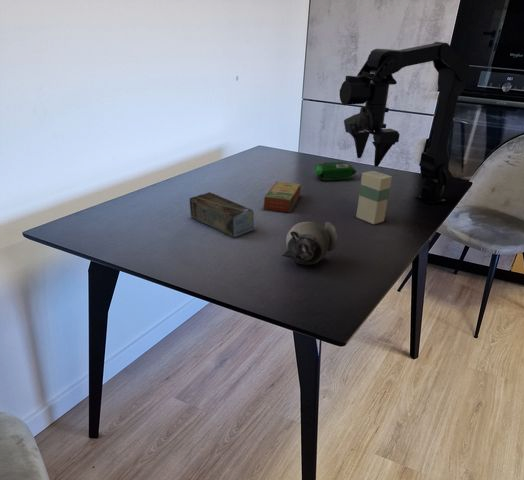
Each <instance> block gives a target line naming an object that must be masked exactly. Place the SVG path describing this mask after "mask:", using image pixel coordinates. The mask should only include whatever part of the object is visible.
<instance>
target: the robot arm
mask: <svg viewBox="0 0 524 480" xmlns="http://www.w3.org/2000/svg"><path fill="white" fill-rule="evenodd" d="M430 62H432V65H433V68H434V69H435V70H436V72H437V87H438V90H439V95H440V96H439V100H438V106H437V111H436V117H435V120H434V126H433V131H432V135H431V136H432V137H431V140H430V146H429V148H427V150H426V151H425V152H424V151H423V152H421V155H420V161H419V164H418V166H419V170H420V172H421V178H422V179H425V180H424V183H423V186H422V189H421V193H420V195H418V196H417V198H418V199H419V200H421V201H423V202H425V203H427V204H429V205H432V204H440V203H446V202H447V201H446V199H444V196H445V195H444V194H445V191H446V188H447V187H446V186H449V185H451V184H452V182H453V180H454V176H453V174H452V173H451V171H450V169H449V168H450V156H449V150H448V144H449V140H450V136H451V130H452V126H453V121H454V117H455V112H456V108H457V104H458V99H459V96H460V95H461V94H462V92H463V91H464V89H466V86H467V85H468V81H469V78H470V76H471V71H472V68H471V66H470V64H469V62H468V61H465V60H464V59H463V57H461V55H460V54H458V53H457V52H456V51H455V50H454V49H453V48H452V46H451V45H450V44H449V43H448V42H442V41H435V42H433V43H429V44H423V45H417V46H413V47H408V48H401V49H390V48H375V49H372V50H371V51H370V53H369V54H368V57H367V59H366V61H365V63H364V64H363V66H362V67H361V68H360V69H359V71H358V72H357V75H346V76H345V79H344V81H343V82H342V83H341V86H340V88H339V100H340V103H341V104H342V105H344V106H349V105H350V106H352V105H361V107H360V110H359V112H358V113H356V114H353V115H351V116H349V117H347V118H345V119H343V125H344V129H345V130H344V131H345V133H348V134H350V136H351V137H352V138H353V142H354V145H355V152H356V157H357V159H361V158H362V157H363V154H364V152H365V149H366V146H367V144H368V140H369V138H370V135H372V139H373V141H371V143H372V145H373V146H374V160H373V161H374V162H373V165H374V167H376V168H377V167H379V165H380V164H381V162H382V161H383V159H384V158H385V157H386V155H387V154H388V152H389V150H390V149H391V148H392V147H393V146H395V145H396V143H399V141H400V136H401V135H400V133H399V131H398V130H396V129H393V128H387V123H384V122H385V116H386V113H389V111H390V108H389V107H387V103H388V97H389V89H390V86H392V85H393V86H395V85H397V80H396V79H395V78H394V76H393V75H394V74H396V73H398V72H400V71H401V70H402V69H403V68H405V67H410V66H416V65H419V64H424V63H430Z"/></svg>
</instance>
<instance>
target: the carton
mask: <svg viewBox="0 0 524 480" xmlns="http://www.w3.org/2000/svg"><path fill="white" fill-rule="evenodd" d="M301 187H302V185H301V184H300V183H294V182H288V181H287V182H286V181H276V182H274V184H273V186H271V188H269V191H268V192H266V194H265V195H264V199H263V210H265V211H272V212H280V213H291V212H292V210H293V208H294V207H295V205H296V203H297V201H298V199H299V198H300V197H301Z"/></svg>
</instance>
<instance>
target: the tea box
mask: <svg viewBox="0 0 524 480" xmlns="http://www.w3.org/2000/svg"><path fill="white" fill-rule="evenodd" d="M392 180H393V176H392V175H389V174H385V173H382V172H380V171H376V170H368V171H365V172H362V174H361V181H360V186H359V193H358V201H357V208H356V215H355V217H356V218H357V219H358V220H359V219H360V220H362V221H364V222H367V223H370V224H372V225H376V224H380V223H383V222H385V217H386V212H387V208H388V207H387V206H388V202H389V201H388V200H389V197H390V191H391V185H392V184H391V183H392Z"/></svg>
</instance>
